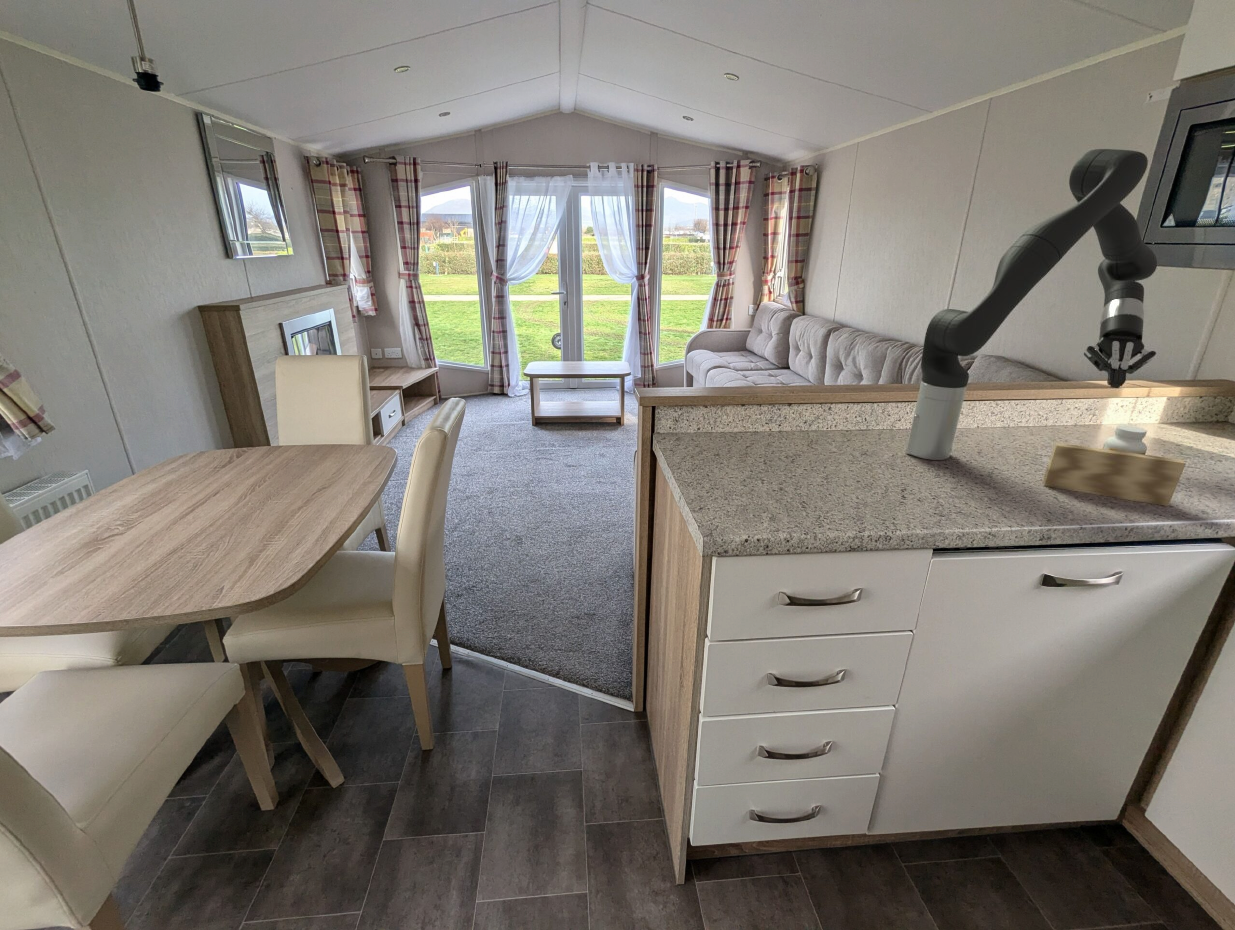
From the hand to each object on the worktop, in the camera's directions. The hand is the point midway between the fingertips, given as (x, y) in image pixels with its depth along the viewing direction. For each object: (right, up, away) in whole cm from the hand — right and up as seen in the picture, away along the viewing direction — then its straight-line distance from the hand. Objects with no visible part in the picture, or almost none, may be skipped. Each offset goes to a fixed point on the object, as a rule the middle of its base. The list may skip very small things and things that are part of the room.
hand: (1116, 386), depth 127 cm
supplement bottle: (-9, -22, -8) cm, 25 cm away
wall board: (-12, -23, -10) cm, 28 cm away
